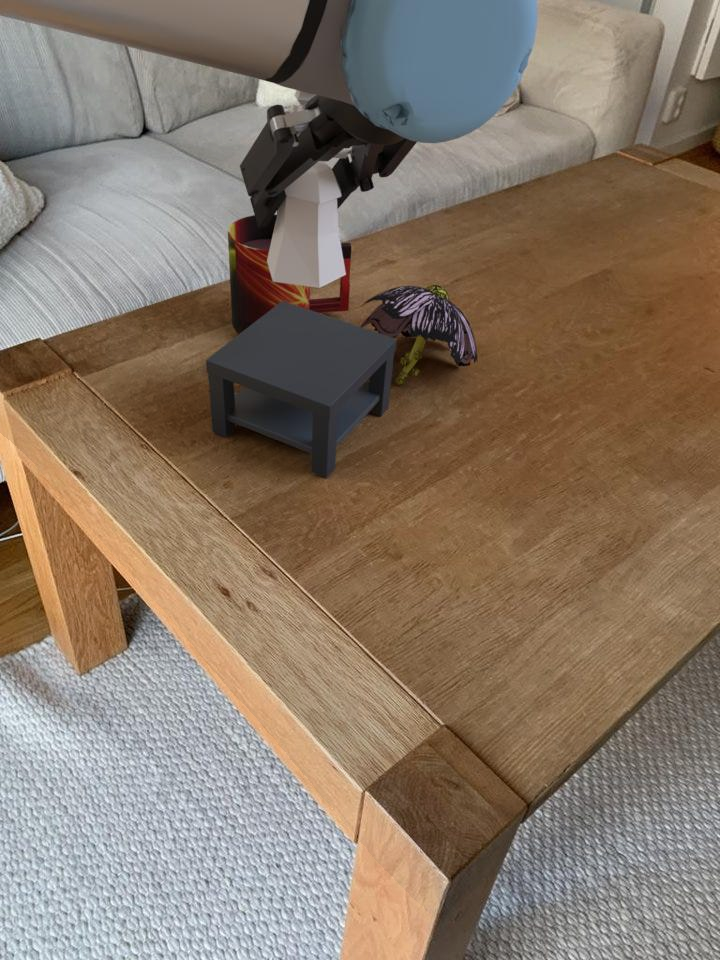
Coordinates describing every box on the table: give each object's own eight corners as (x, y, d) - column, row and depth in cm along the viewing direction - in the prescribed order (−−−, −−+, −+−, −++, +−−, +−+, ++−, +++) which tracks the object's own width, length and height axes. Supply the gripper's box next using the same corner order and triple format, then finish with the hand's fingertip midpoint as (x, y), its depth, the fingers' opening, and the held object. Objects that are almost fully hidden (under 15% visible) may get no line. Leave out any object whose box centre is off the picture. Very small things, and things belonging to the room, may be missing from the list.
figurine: (361, 266, 77) (373, 57, 65) (304, 297, 72) (306, 76, 60) (304, 242, 80) (306, 39, 68) (246, 270, 75) (237, 56, 63)
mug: (350, 318, 105) (356, 229, 97) (261, 351, 98) (259, 258, 90) (304, 287, 110) (306, 200, 102) (217, 317, 103) (211, 226, 95)
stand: (210, 432, 86) (205, 359, 80) (282, 369, 95) (282, 300, 89) (326, 479, 81) (330, 406, 75) (389, 408, 91) (397, 338, 85)
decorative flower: (522, 300, 91) (417, 290, 82) (500, 401, 94) (397, 401, 86) (440, 279, 102) (340, 267, 93) (423, 370, 106) (325, 367, 97)
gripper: (276, 135, 50) (204, 263, 72) (524, 106, 58) (392, 231, 79) (242, 17, 50) (180, 181, 72) (494, 4, 58) (370, 156, 79)
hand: (291, 207), depth 75 cm, fingers closed on figurine, 6 cm apart
